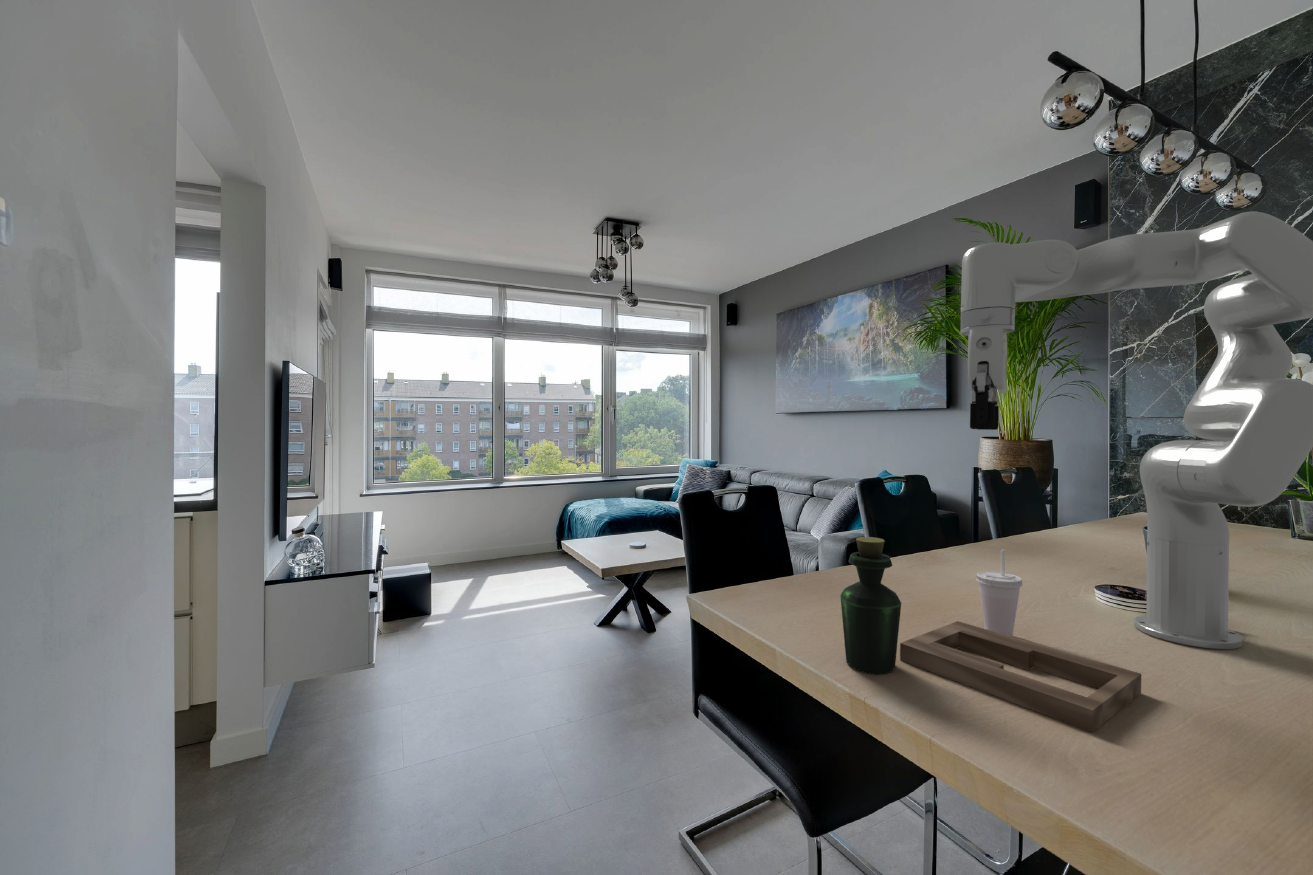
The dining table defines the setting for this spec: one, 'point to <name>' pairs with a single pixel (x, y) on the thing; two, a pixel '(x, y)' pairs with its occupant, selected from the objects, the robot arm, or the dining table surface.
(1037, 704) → the keyhole board
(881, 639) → the potion bottle
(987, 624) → the smoothie
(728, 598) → the dining table surface
